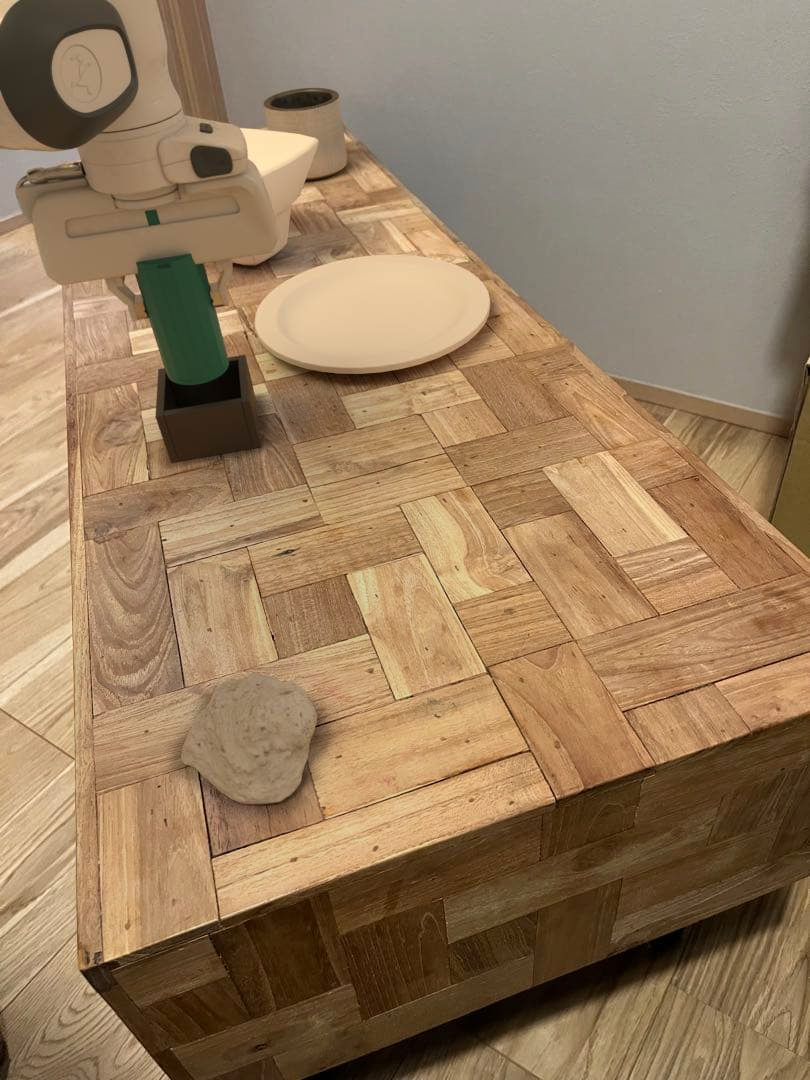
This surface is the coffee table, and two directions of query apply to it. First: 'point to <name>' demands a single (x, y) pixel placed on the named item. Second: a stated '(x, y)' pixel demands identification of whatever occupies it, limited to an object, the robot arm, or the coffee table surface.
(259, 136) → the bowl
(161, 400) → the holder
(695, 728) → the coffee table surface
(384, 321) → the plate
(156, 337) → the bottle
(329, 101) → the planter
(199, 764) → the stone
